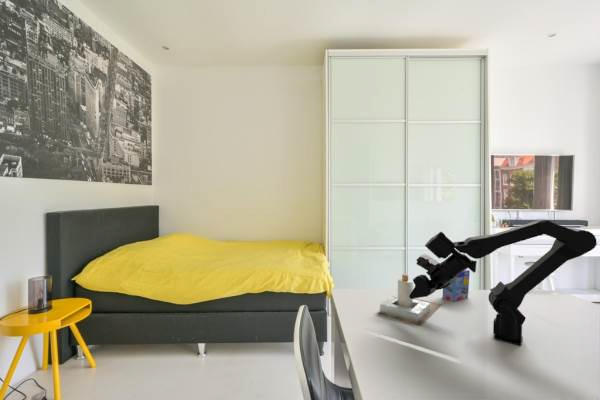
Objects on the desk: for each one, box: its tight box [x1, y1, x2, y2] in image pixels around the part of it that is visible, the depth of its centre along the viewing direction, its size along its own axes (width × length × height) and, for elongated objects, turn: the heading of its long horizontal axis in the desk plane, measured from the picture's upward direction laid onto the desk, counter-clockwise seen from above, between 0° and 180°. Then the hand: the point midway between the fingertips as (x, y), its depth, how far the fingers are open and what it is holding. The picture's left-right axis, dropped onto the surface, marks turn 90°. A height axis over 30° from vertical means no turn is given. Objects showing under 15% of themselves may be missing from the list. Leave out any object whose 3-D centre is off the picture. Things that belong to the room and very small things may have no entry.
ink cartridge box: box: [441, 269, 471, 302], centre depth 124 cm, size 10×6×14 cm, turn 120°
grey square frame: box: [379, 294, 430, 323], centre depth 108 cm, size 13×13×3 cm
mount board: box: [376, 298, 443, 327], centre depth 111 cm, size 15×25×1 cm, turn 141°
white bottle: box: [397, 273, 414, 309], centre depth 108 cm, size 5×5×13 cm
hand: (416, 294), depth 105 cm, fingers open, 9 cm apart
